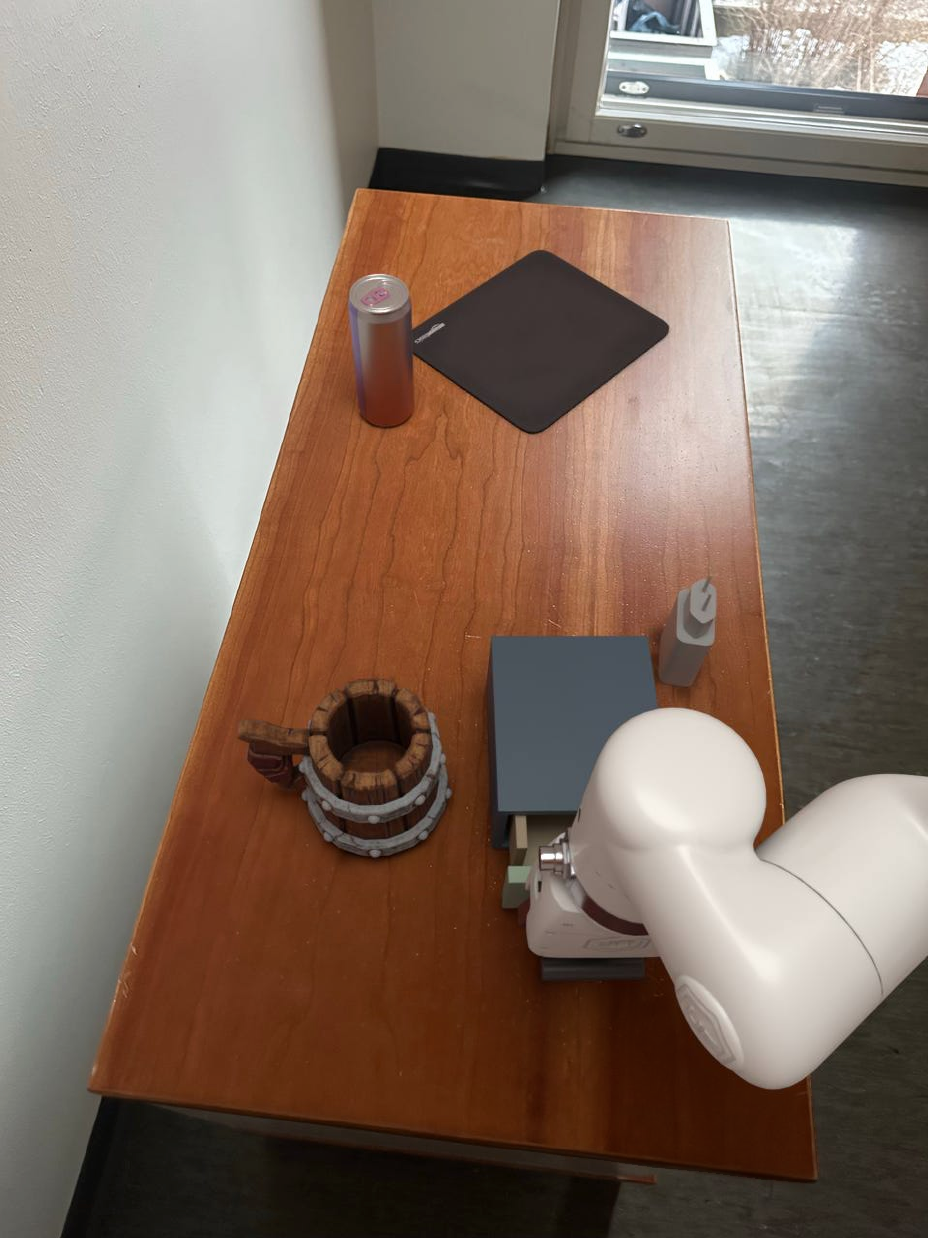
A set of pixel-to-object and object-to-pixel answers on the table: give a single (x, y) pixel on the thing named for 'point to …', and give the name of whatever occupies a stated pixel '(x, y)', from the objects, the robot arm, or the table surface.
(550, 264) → the mouse pad
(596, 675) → the cabinet
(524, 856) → the drawer
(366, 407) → the beverage can
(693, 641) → the power adapter
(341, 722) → the mug
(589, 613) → the table surface
